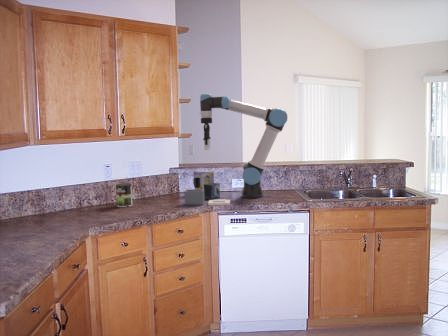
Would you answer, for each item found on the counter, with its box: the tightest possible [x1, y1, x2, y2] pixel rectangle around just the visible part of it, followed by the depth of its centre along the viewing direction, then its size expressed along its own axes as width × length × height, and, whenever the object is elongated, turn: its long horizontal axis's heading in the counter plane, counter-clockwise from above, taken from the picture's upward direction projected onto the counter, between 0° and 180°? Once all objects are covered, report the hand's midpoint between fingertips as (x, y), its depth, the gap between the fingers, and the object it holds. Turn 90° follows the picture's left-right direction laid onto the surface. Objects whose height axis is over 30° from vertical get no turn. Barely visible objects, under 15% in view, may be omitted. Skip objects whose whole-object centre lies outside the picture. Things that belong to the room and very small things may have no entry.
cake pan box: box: [192, 169, 215, 189], centre depth 352 cm, size 19×5×18 cm, turn 43°
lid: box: [207, 198, 231, 206], centre depth 314 cm, size 14×12×3 cm
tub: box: [184, 188, 206, 206], centre depth 314 cm, size 12×8×9 cm, turn 88°
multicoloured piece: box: [115, 183, 133, 208], centre depth 315 cm, size 10×10×14 cm
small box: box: [204, 182, 221, 201], centre depth 334 cm, size 11×6×10 cm, turn 143°
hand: (207, 149), depth 325 cm, fingers open, 13 cm apart
